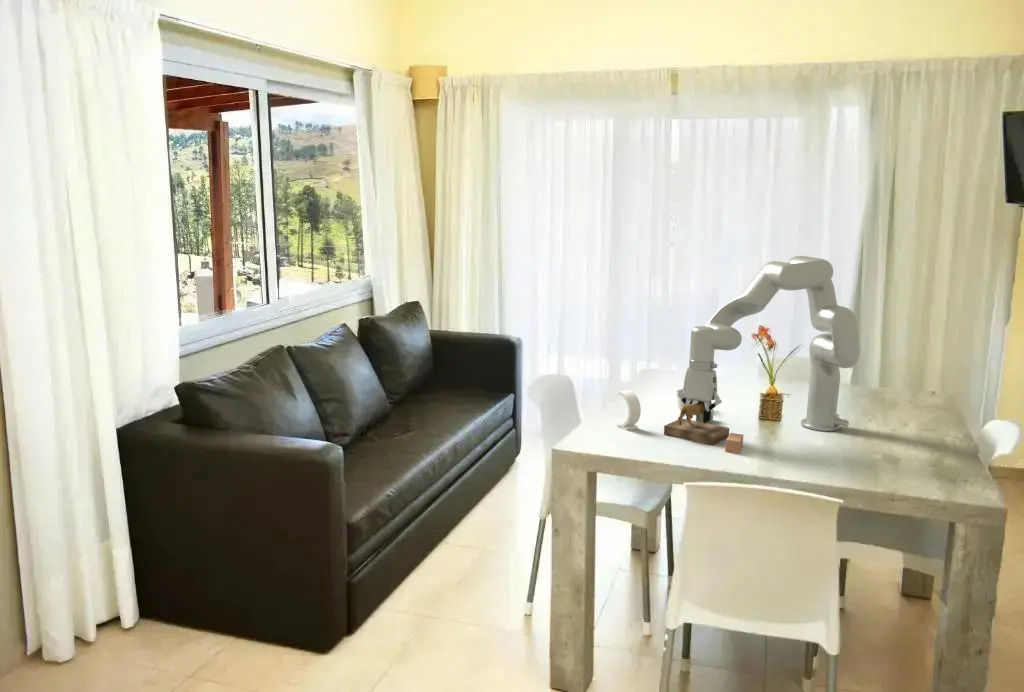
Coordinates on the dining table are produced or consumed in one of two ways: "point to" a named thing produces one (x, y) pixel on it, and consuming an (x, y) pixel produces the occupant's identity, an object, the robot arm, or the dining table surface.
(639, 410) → the white crescent moon figurine
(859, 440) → the dining table surface
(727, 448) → the terracotta brick
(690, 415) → the lion figurine
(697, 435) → the walnut plinth
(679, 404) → the candle
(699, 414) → the sage brick
